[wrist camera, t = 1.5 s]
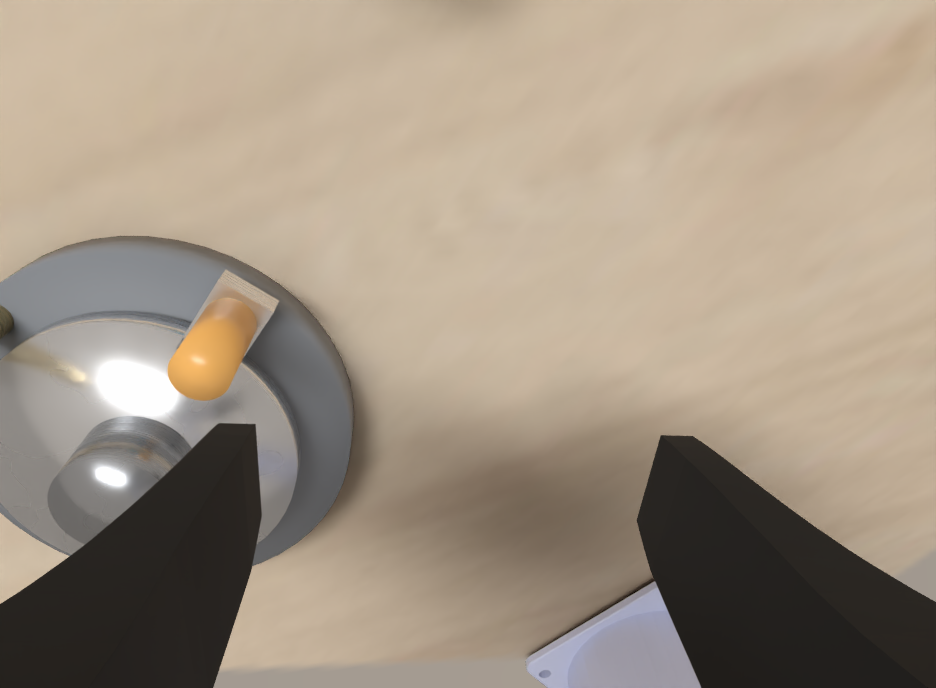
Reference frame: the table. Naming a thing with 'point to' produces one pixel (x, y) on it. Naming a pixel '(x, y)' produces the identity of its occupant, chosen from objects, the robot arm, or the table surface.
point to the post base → (181, 297)
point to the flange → (135, 411)
